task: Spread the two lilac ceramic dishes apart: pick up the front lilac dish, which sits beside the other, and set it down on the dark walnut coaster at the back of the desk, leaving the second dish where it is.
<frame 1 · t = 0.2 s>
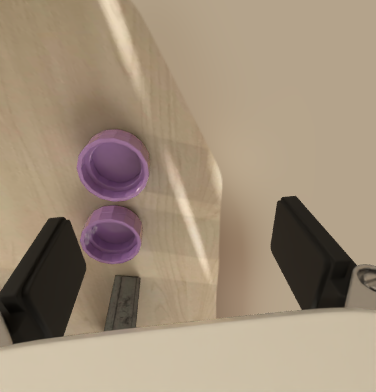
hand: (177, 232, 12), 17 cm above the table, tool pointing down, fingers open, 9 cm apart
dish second: (115, 226, 32), on the table
camera: (123, 308, 41), on the table
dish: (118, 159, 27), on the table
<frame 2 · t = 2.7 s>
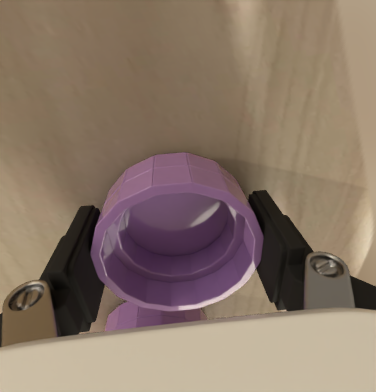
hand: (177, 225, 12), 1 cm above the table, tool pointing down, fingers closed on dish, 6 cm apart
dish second: (157, 322, 17), on the table
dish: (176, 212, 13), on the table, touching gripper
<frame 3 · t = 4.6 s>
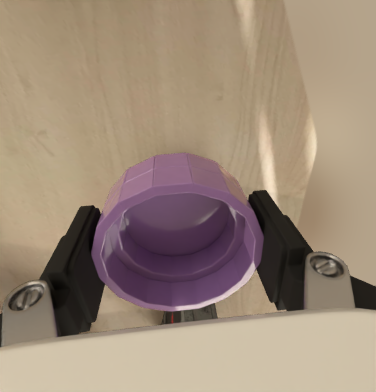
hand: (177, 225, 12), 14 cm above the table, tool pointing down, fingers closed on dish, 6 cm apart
camera: (180, 299, 37), on the table
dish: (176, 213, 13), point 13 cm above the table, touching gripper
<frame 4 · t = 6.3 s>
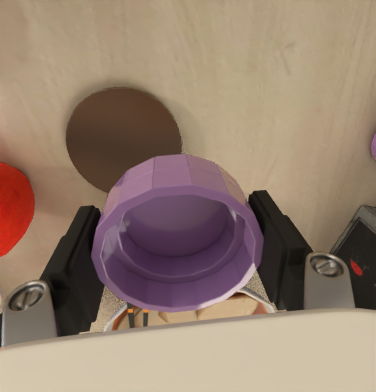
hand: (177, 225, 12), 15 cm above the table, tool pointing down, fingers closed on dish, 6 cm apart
coaster: (126, 146, 25), on the table
camera: (339, 252, 36), on the table
ramen bowl: (187, 295, 38), on the table
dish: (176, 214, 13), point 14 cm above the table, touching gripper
apple: (6, 182, 26), on the table
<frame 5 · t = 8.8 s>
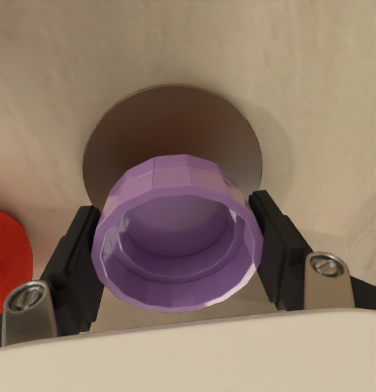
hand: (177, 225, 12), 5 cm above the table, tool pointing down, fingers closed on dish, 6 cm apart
coaster: (174, 177, 16), on the table
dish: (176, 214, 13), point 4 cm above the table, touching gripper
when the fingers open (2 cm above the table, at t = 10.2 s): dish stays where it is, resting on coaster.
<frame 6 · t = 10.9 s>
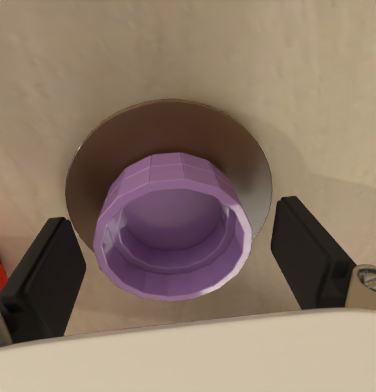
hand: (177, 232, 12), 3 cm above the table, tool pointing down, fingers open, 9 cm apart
coaster: (172, 202, 14), on the table
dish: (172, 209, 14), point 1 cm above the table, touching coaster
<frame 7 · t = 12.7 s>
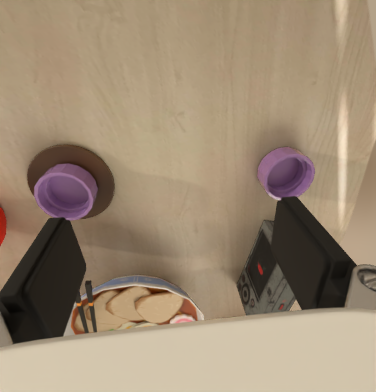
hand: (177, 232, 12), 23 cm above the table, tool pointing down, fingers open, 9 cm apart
coaster: (73, 183, 34), on the table
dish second: (279, 168, 36), on the table
camera: (257, 257, 45), on the table
ramen bowl: (139, 294, 47), on the table
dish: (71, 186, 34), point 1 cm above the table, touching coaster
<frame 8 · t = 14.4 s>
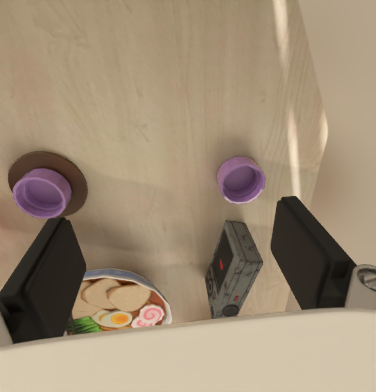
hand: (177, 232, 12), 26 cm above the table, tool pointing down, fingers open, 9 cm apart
coaster: (50, 185, 38), on the table
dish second: (237, 175, 40), on the table
camera: (222, 254, 49), on the table
ramen bowl: (115, 286, 51), on the table
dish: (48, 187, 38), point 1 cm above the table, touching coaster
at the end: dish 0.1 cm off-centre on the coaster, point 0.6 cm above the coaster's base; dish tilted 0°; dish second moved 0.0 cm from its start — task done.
